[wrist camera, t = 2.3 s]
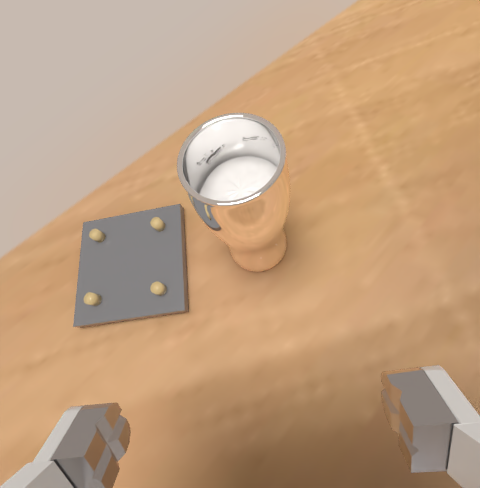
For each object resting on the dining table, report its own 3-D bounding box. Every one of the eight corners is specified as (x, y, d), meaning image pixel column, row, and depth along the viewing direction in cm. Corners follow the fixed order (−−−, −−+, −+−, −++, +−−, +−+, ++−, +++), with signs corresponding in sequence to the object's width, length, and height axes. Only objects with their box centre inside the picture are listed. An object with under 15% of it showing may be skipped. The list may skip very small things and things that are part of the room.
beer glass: (213, 256, 31) (151, 180, 17) (246, 205, 33) (213, 96, 19) (270, 288, 29) (249, 229, 15) (302, 231, 30) (311, 130, 17)
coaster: (183, 208, 34) (176, 198, 32) (188, 311, 29) (180, 308, 27) (89, 226, 35) (76, 218, 33) (81, 327, 31) (64, 325, 29)
